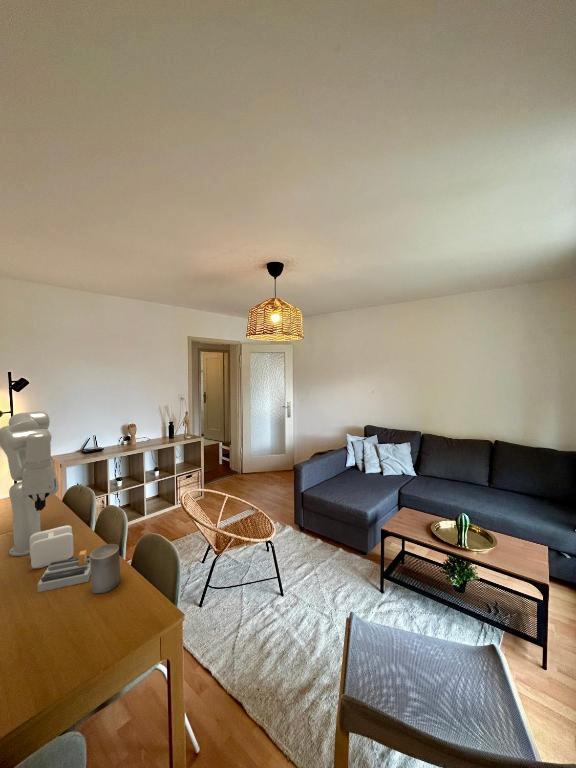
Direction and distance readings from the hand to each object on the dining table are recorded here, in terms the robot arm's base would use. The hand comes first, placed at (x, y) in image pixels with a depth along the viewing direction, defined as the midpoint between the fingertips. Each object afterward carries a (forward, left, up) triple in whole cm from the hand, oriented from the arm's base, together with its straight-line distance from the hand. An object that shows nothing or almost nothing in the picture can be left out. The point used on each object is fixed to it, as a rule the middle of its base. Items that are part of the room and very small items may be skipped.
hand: (40, 509), depth 121 cm
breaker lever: (+5, +15, -24) cm, 29 cm away
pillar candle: (+15, +25, -27) cm, 40 cm away
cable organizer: (-11, 0, -27) cm, 30 cm away
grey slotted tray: (+5, +10, -27) cm, 29 cm away
